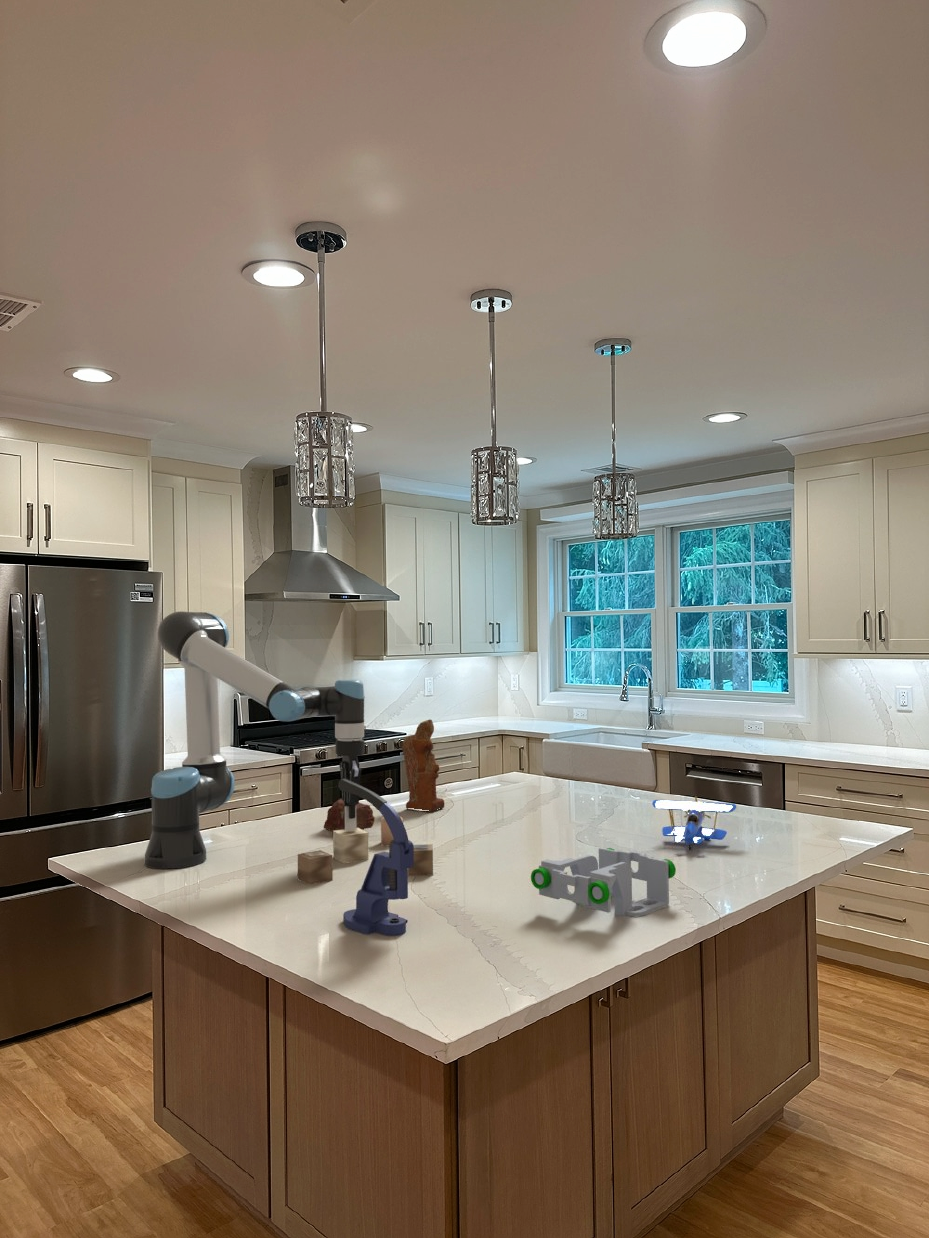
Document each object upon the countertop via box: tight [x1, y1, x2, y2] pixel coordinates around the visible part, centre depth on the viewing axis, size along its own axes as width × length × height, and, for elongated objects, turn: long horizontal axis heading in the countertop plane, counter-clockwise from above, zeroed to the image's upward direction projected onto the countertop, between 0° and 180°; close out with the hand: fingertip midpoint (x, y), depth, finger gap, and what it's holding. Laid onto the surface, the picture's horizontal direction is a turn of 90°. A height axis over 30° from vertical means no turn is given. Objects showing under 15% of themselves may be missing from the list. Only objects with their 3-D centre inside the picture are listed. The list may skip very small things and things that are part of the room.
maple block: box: [332, 828, 369, 864], centre depth 224 cm, size 7×7×7 cm
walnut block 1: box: [297, 850, 334, 886], centre depth 204 cm, size 6×6×6 cm
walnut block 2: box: [408, 843, 434, 877], centre depth 210 cm, size 6×6×6 cm
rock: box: [323, 798, 376, 832], centre depth 256 cm, size 18×6×9 cm, turn 52°
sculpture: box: [401, 719, 445, 812], centre depth 289 cm, size 13×9×30 cm
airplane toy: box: [652, 796, 737, 851], centre depth 236 cm, size 25×22×13 cm
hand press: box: [338, 778, 414, 937], centre depth 171 cm, size 19×9×28 cm, turn 50°
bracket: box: [530, 847, 677, 917], centre depth 180 cm, size 19×25×10 cm
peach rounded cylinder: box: [380, 816, 404, 846], centre depth 241 cm, size 6×6×7 cm
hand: (350, 830), depth 224 cm, fingers closed
